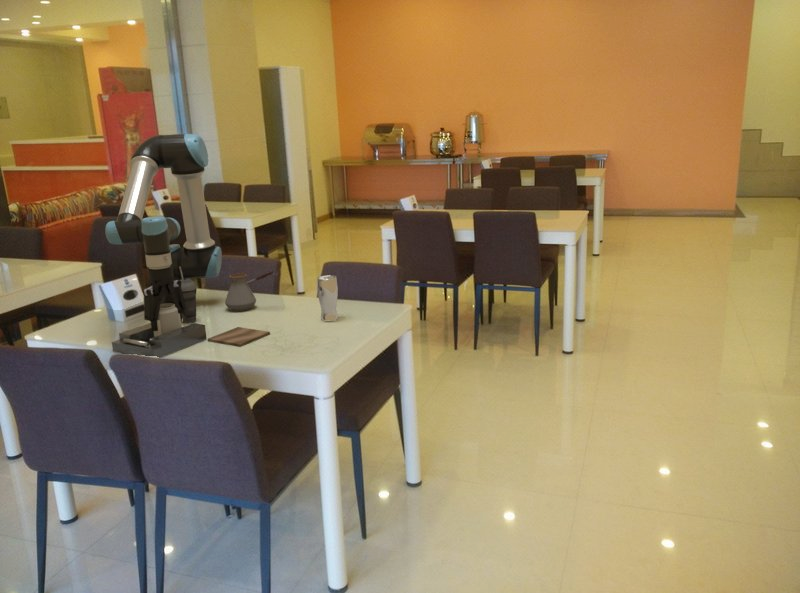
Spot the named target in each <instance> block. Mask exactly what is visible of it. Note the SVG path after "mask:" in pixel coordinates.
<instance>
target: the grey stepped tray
mask: <svg viewBox="0 0 800 593" xmlns="http://www.w3.org/2000/svg"><path fill="white" fill-rule="evenodd" d="M206 331H207V330H206V324H201V323H197V322H194V323H189V324H188V325H184V326H182V327H181V328H179V329H176V330H173V331H170V332H167V333H164V334H162V335H159V336H156V337H154V331H152V327H151V322H149V323H146V324H142V325H140V326H137V327H134V328H130V329H128V330H124V331H122V332H119V333H118V336H119V339H115V340H113V341H111V348H112V352H115V353H120V354H124V353H129V354H137V355H145V356H157V357H161V358H163V357H166V356H168V355H171V354H173V353H176V352H178V351H179V352H180V351H182V350H183V349H186V348H190V347H191V346H194V345H196V344H199V343H202V342H205V341H208V338H207V332H206ZM129 354H128V355H129Z"/></svg>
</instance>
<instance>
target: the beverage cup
mask: <svg viewBox="0 0 800 593" xmlns="http://www.w3.org/2000/svg"><path fill="white" fill-rule="evenodd" d="M179 268H180V273H181V277H182V279H181V280H180V281H181V289H182V293H183V297H184V301H185V305H186V309H185V310H184V312H183V313H181V315H182V323H183V324H193V323H197V290H198V288H197V286H196V283H195V282H194V281H193V280H192V279H191V278H189V279H187V278H185V279H183V275H182V271H181V266H180V267H179Z"/></svg>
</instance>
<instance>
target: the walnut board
mask: <svg viewBox="0 0 800 593" xmlns="http://www.w3.org/2000/svg"><path fill="white" fill-rule="evenodd" d="M269 335H271V332H270V331H265V330H260V329H254V328H248V327H241V326H237V327H234V328H232V329H229V330H227V331H224V332H222V333H221V332H220V333H219V334H216V335H214V336H211V337H209V338H207V342H211V343H217V344H223V345H228V346H234V347H239V348H241V347H243V346H245V345H247V344H250V343H253V342H255V341H257V340H260V339H262V338H264V337H267V336H269Z"/></svg>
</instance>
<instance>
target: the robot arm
mask: <svg viewBox="0 0 800 593" xmlns="http://www.w3.org/2000/svg"><path fill="white" fill-rule="evenodd" d="M208 165H209V154H208V149H207V146H206V143H205V141H204V139H203V138H202V136H201V135H200V134H197V133H177V134H176V133H175V134H157V135H153V136H151V137H148V138H147V139H145V140H144V141H143V142H141V144H139V145H138V146H137V147H136V149H135V150H134V151H133V153H132V155H131V158H130V161H129V167H130V172H129V176H128V180H127V183H126V188H125V190H124V194H123V197H122V200H121V205H120V209H119V212H118V216H117V218H116V220H111V221H108V222H107V223H106V225H105V229H104V230H105V231H104V232H105V237H106V240H107V241H108V242H109V244H111V245H123V246H124V245H135V244H143V246H144V248H143V249H144V254H145V255H144V256H145V262H146V263H145V264H146V267H147V271H146V272H147V277H148V281H149V282H150V284H149V287H147V288H143V289H141V290H142V295H143V318H144V320H145V321H149V322H150V323H151V327H152V331H154V337H156V336H159V335H162V332H161V325H160V320H158V314H159V309H160V304H165V303H173V304H175V307H176V308H177V309H178V316H179V324H180V328H181V327H183V326H182V323H183V319H182V315H181V313H183V312H184V310H185V309H186V305H185V301H184V297H183V293H182V289H181V281H180V280H181V279H182V277H181V273H180V268H179V267H180V266H181V271H182V275H183V279H185V278H187V279H209V278H216V277H217V276H219V274H220V272H221V268H222V260H223V259H222V258H223V256H222V255H223V254H222V248H221V247H220V246H218V245H217V246H216V241H215V240H214V239H212V238H211V236H210V234H211V233H210V226H209V222H208V221H209V219H208V215H207V208H206V207H207V206H206V202H205V201H206V199H205V194H204V193H205V192H204V187H203V180H202V175H203V174H204V173H205V167H208ZM160 169H170V173H171V175H172V176H174V177H175V178H176V183H177V188H178V195H179V200H180V206H181V207H180V208H181V212H182V214H181V215H182V219H183V225H184V232H185V237H186V241H185V242H184V244H183V247H182V248H181V245H180V244H175V243H173V244H170V243H171V242H172V241H173V242H174V241H175V240H177V238H178V236H180V233H181V225H180V223H179V221H178V220H176V219H175V218H172V217H169V216H168V217H165V216H161V215H156V216H149V217H145V218H144V213H145V209H146V207H147V206H146V205H147V202H148V199H149V195H150V191H151V187H152V183H153V179H154V178H155V176H156V175H157V174H158V173H159V170H160Z"/></svg>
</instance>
